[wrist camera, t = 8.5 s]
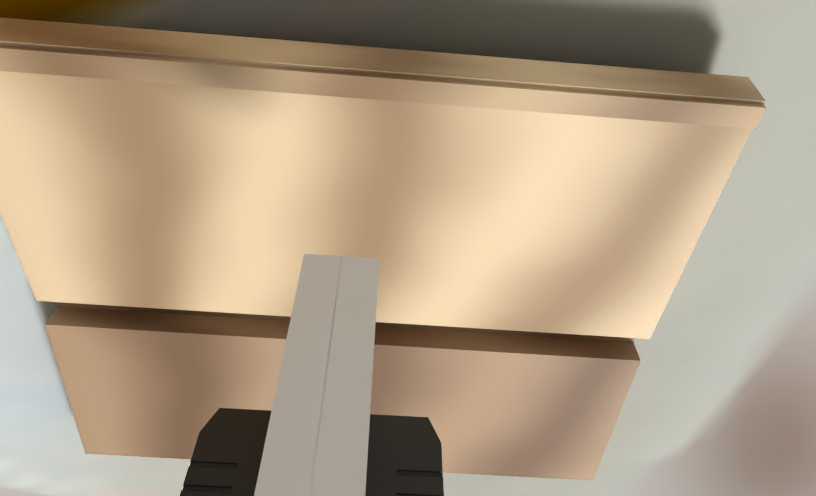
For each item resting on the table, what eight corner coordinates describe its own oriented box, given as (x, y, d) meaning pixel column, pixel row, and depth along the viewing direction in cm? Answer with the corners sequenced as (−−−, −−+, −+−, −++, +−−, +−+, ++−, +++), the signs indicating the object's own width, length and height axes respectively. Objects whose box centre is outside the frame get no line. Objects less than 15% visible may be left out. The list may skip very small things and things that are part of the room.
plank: (51, 274, 23) (34, 304, 22) (-48, 13, 17) (-77, 38, 16) (640, 312, 24) (650, 342, 23) (748, 77, 18) (768, 104, 17)
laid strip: (96, 428, 28) (85, 453, 27) (55, 285, 23) (39, 308, 22) (586, 455, 29) (592, 480, 28) (636, 322, 24) (645, 346, 23)
